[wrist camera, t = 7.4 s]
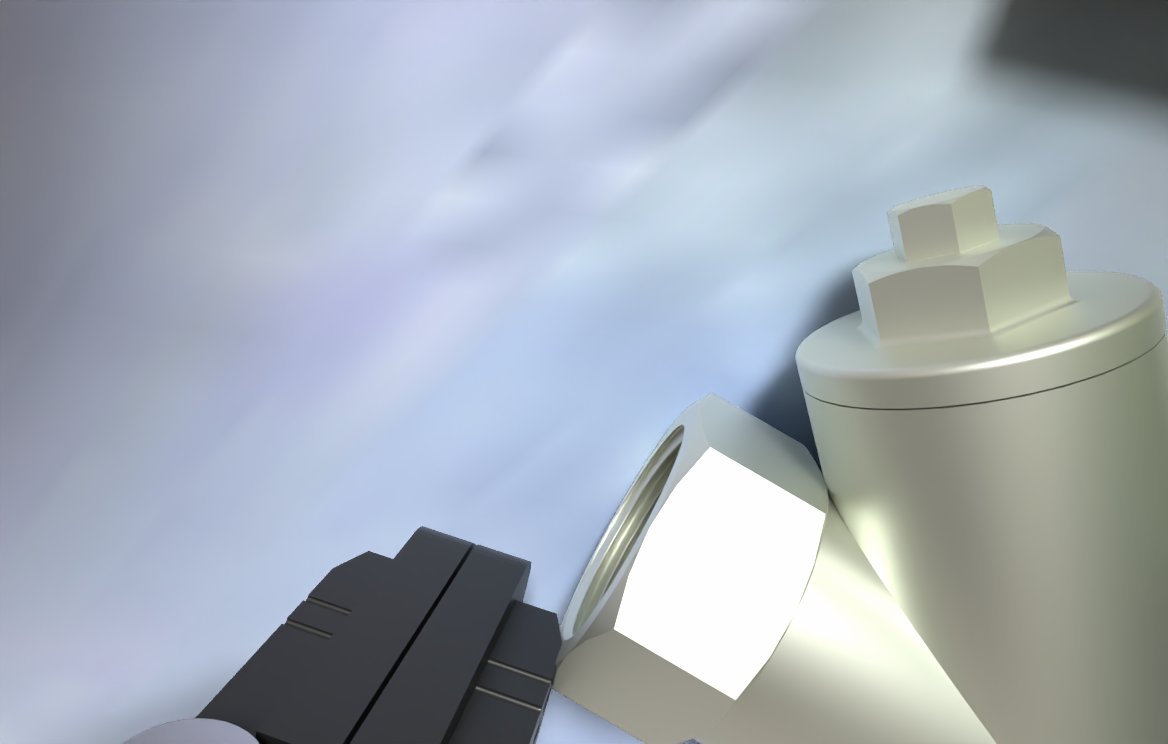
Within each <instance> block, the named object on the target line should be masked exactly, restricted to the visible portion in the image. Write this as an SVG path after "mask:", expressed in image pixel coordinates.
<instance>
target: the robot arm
mask: <svg viewBox="0 0 1168 744" xmlns="http://www.w3.org/2000/svg"><path fill="white" fill-rule="evenodd" d="M530 569H531V562H530V561H527V560H524V559H521V558H518V557H515V556H512V555H508V554H505V553H502V552H499V551H496V550H493V549H490V548H487V547H484V546H481V545H475V544H474V543H471V542H468V541H465V540H462V539H459V538H456V537H453V536H450V535H447V534H444V533H441V532H438V531H435V530H432V529H429V528H426V527H423V526H422V527H420V528H419V529H417V531H416V532H415V533H414V534H413V535H412V537H411V538H410V539H409V540H408V542H407V543H406V544H405V545H404V547H403V548H402V549H401V550H400V552H399V553H398V554H397V555H396V557H395V558H394V559H391V558H388V557H385V556H382V555H379V554H376V553H373V552H370V551H368V552H366V553H364V554H361V555H359V556H357V557H355V558H353V559H351V560H349V561H347V562H345V563H343V564H341V565H339V566H337V567H335V568H333V569H332V570H331V571H330V572H329V573H328V574H327V575H326V576H325V578H324V579H323V580H322V581H321V582H320V583H319V584H318V585H317V586H316V587H315V588H314V590H313V591H312V592H311V593H310V594H309V595H308V598H307V600H306V601H303V602H302V603H301V604H300V605H299V606H298V607H297V608H296V609H295V610H294V611H293V612H292V614H291V615H290V616H289V617H288V618H287V621H286V623H285V624H281V626H280V627H279V628H278V629H277V630H276V631H275V632H274V633H273V634H272V635H271V636H270V638H269V639H268V640H267V641H266V642H265V643H264V644H263V645H262V646H261V647H260V648H259V649H258V651H257V652H256V653H255V654H254V655H253V656H252V657H251V658H250V659H249V660H248V661H247V663H246V664H245V665H244V666H243V667H242V668H241V669H240V670H239V671H238V672H237V673H236V675H235V676H234V677H233V678H232V679H231V680H230V681H229V682H228V683H227V684H226V685H225V687H224V688H223V689H222V690H221V691H220V692H219V693H218V694H217V695H216V696H215V697H214V699H213V700H212V701H211V702H210V703H209V704H208V705H207V706H206V707H205V708H204V709H203V711H202V712H201V713H200V714H199V715H198V716H197V717H196V718H195V719H183V720H178V721H173V722H168V723H165V724H162V725H159V726H156V727H153V728H151V729H148V730H146V731H144V732H142V733H140V734H138V735H136V736H134V737H133V738H131V739H129V740H128V741H126V742H124V743H123V744H535V743H536V740H537V737H538V733H539V730H540V726H541V723H542V719H543V716H544V712H545V709H546V705H547V702H548V698H549V694H550V691H551V687H552V682H553V677H554V673H555V669H556V664H555V662H556V659H557V656H558V654H559V651H560V648H561V645H562V639H561V634H560V629H559V624H558V619H557V614H555V613H552V612H549V611H546V610H543V609H540V608H537V607H534V606H532V605H529V604H526V603H523V598H524V594H525V590H526V586H527V582H528V578H529V574H530Z"/></svg>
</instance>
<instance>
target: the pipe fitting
mask: <svg viewBox="0 0 1168 744" xmlns="http://www.w3.org/2000/svg"><path fill="white" fill-rule="evenodd" d="M887 215H888V220H889V225H890V230H891V235H892V240H893V245H894V249H891V250H888V251H885V252H883V253H880V254H878V255H875V256H873V257H871V258H869V259H866V260H865V261H863V262H861V263H860V264H859V265H858V266H856V267H855V268H854V269H853V270H852V275H853V279H854V284H855V288H856V293H857V298H858V302H859V307H860V310H859V311H856V312H853V313H851V314H848V315H846V316H843V317H841V318H839V319H837V320H834V321H832V322H830V323H828V324H826V325H825V326H823V327H821V328H819V329H818V330H816V331H814V332H813V333H812V334H810V335H809V336H808V337H806V338H805V339H804V340H803V341H802V343H801V344H800V345H799V347H798V349H797V351H796V355H795V358H796V363H797V367H798V372H799V376H800V380H801V384H802V389H803V393H804V397H805V401H806V405H807V410H808V414H809V418H810V422H811V426H812V431H813V435H814V439H815V443H816V447H817V452H818V456H819V460H820V464H821V469H822V473H823V475H822V473H821V471H820V469H819V467H818V465H817V463H816V462H815V460H814V459H813V457H812V456H811V454H810V453H809V451H808V450H807V448H806V447H805V445H803V444H801V443H800V442H798V441H796V440H795V439H793V438H791V437H789V436H788V435H786V434H784V433H782V432H781V431H779V430H777V429H775V428H774V427H772V426H770V425H768V424H767V423H765V422H763V421H762V420H760V419H758V418H756V417H755V416H753V415H751V414H749V413H748V412H746V411H744V410H742V409H741V408H739V407H737V406H735V405H734V404H732V403H730V402H729V401H727V400H725V399H723V398H722V397H720V396H718V395H716V394H715V393H713V392H711V393H710V394H708V395H706V396H705V397H703V398H701V399H699V400H698V401H696V402H694V403H693V404H691V405H690V406H689V407H687V408H686V409H685V410H684V411H683V413H682V414H681V415H680V416H679V417H678V418H677V419H676V421H675V422H674V423H673V424H672V426H671V427H670V428H669V430H668V431H667V432H666V434H665V435H664V436H663V438H662V439H661V441H660V442H659V444H658V445H657V446H656V448H655V449H654V451H653V452H652V454H651V455H650V457H649V458H648V460H647V461H646V463H645V465H644V466H643V468H642V469H641V471H640V472H639V474H638V476H637V477H636V479H635V481H634V482H633V484H632V485H631V487H630V489H629V490H628V492H627V494H626V496H625V497H624V499H623V501H622V502H621V504H620V506H619V508H618V509H617V511H616V513H615V515H614V516H613V518H612V520H611V522H610V524H609V525H608V527H607V529H606V531H605V533H604V535H603V536H602V538H601V540H600V542H599V544H598V546H597V548H596V550H595V552H594V554H593V555H592V557H591V559H590V561H589V563H588V565H587V567H586V569H585V571H584V574H583V576H582V578H581V580H580V582H579V584H578V586H577V588H576V590H575V593H574V595H573V597H572V599H571V602H570V604H569V606H568V608H567V611H566V613H565V616H564V618H563V621H562V623H561V626H560V634H561V639H562V645H561V648H560V651H559V654H558V656H557V659H556V662H555V664H556V669H555V673H554V677H553V682H552V687H553V689H554V690H555V691H557V692H559V693H561V694H562V695H564V696H566V697H567V698H569V699H571V700H572V701H574V702H576V703H578V704H579V705H581V706H583V707H584V708H586V709H588V710H589V711H591V712H593V713H595V714H596V715H598V716H600V717H601V718H603V719H605V720H606V721H608V722H610V723H612V724H613V725H615V726H617V727H618V728H620V729H622V730H623V731H625V732H627V733H629V734H630V735H632V736H634V737H635V738H637V739H639V740H640V741H642V742H644V743H645V744H678V743H682V742H685V741H687V740H690V739H694V740H696V741H697V742H699V743H701V744H1168V339H1167V331H1166V322H1165V314H1164V307H1163V300H1162V295H1161V292H1160V290H1159V289H1158V288H1157V287H1156V286H1155V285H1154V284H1153V283H1152V282H1150V281H1148V280H1146V279H1143V278H1140V277H1137V276H1134V275H1129V274H1124V273H1117V272H1107V271H1066V270H1065V264H1064V258H1063V252H1062V245H1061V239H1060V235H1058V234H1057V233H1055V232H1054V231H1053V230H1051V229H1049V228H1048V227H1045V226H1043V225H1040V224H1034V223H1017V224H1006V225H997V221H996V215H995V210H994V204H993V198H992V192H991V190H990V189H989V188H987V187H985V186H971V187H965V188H959V189H954V190H950V191H945V192H941V193H937V194H933V195H929V196H925V197H922V198H918V199H915V200H911V201H908V202H905V203H902V204H900V205H897V206H895V207H893V208H891V209H890V210H889V211H888V212H887Z"/></svg>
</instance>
